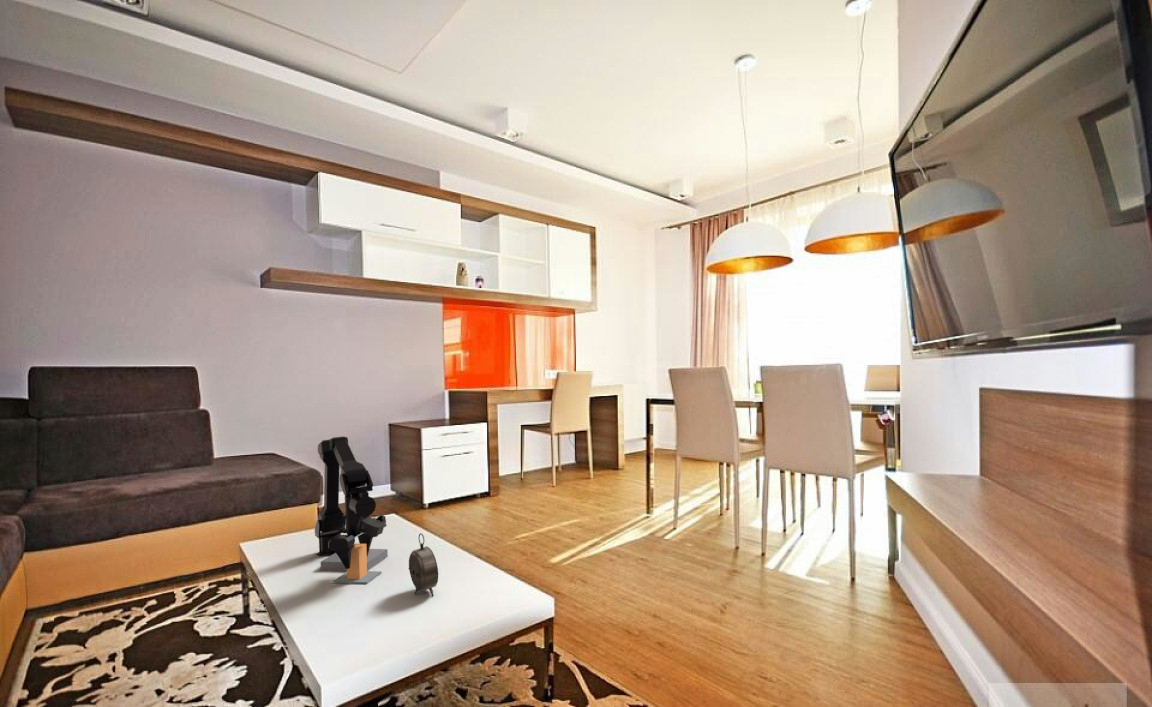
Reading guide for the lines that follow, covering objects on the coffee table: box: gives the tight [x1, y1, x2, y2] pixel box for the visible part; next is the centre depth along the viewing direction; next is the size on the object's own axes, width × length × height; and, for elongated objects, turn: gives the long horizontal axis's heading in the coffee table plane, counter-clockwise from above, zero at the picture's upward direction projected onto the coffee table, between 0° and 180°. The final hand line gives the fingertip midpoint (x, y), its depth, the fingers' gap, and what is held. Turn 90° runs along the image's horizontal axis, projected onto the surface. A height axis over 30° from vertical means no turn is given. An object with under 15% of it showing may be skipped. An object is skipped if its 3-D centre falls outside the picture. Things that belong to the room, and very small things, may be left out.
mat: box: [332, 570, 382, 585], centre depth 156 cm, size 11×8×1 cm
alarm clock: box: [408, 532, 439, 597], centre depth 144 cm, size 11×5×16 cm, turn 38°
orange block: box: [346, 543, 367, 579], centre depth 156 cm, size 4×4×9 cm
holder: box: [320, 548, 389, 571], centre depth 169 cm, size 16×12×2 cm
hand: (356, 562), depth 156 cm, fingers open, 9 cm apart
